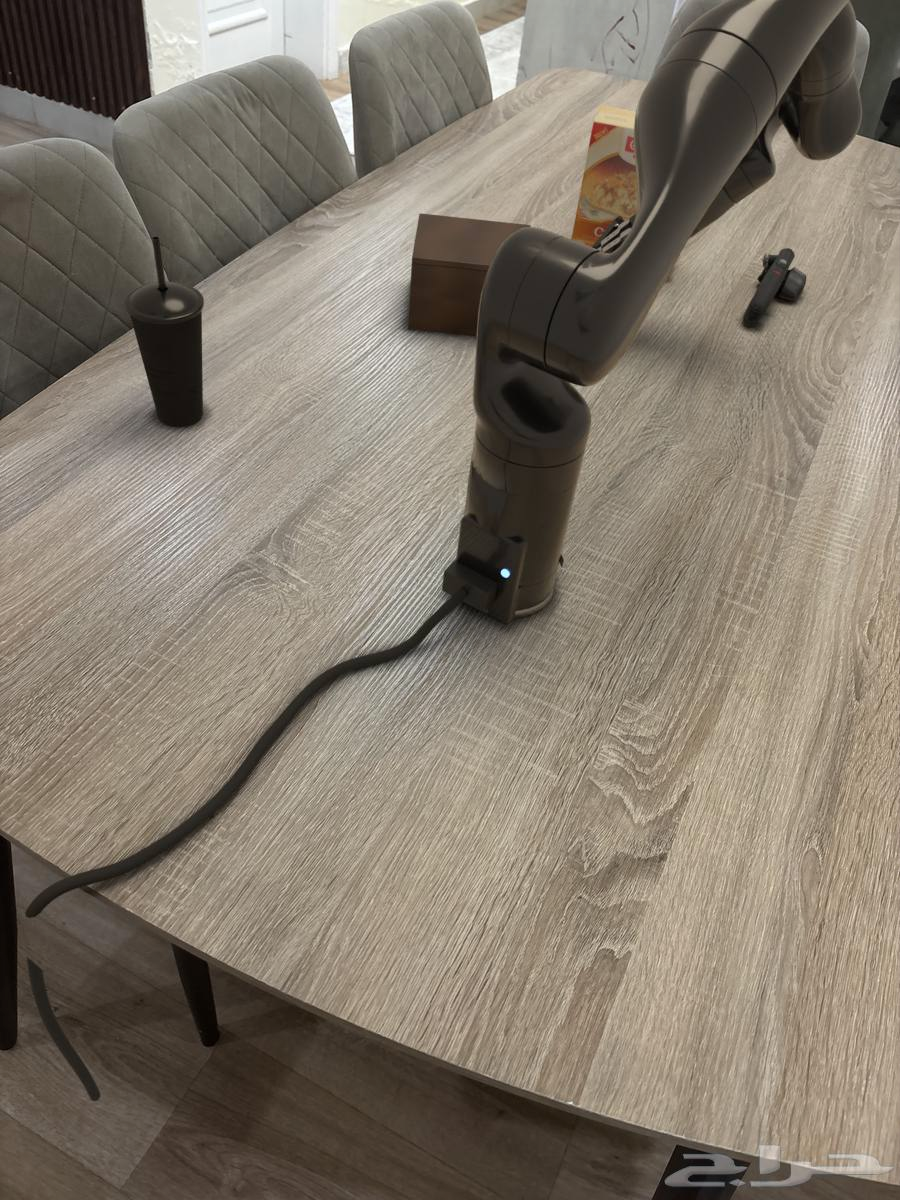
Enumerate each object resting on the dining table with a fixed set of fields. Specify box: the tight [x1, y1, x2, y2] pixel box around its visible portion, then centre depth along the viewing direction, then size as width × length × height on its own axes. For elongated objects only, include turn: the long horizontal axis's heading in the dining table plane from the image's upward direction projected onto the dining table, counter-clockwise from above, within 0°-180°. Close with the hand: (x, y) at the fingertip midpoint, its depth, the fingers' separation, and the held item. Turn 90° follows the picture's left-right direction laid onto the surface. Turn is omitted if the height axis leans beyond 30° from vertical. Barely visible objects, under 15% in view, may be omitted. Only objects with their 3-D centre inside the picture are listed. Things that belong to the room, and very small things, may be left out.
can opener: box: [742, 247, 807, 327], centre depth 131 cm, size 18×7×6 cm, turn 149°
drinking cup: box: [123, 236, 205, 428], centre depth 96 cm, size 8×8×20 cm
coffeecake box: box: [570, 105, 668, 281], centre depth 132 cm, size 15×7×20 cm, turn 76°
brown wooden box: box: [407, 212, 532, 337], centre depth 121 cm, size 15×13×10 cm
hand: (567, 286), depth 122 cm, fingers closed
